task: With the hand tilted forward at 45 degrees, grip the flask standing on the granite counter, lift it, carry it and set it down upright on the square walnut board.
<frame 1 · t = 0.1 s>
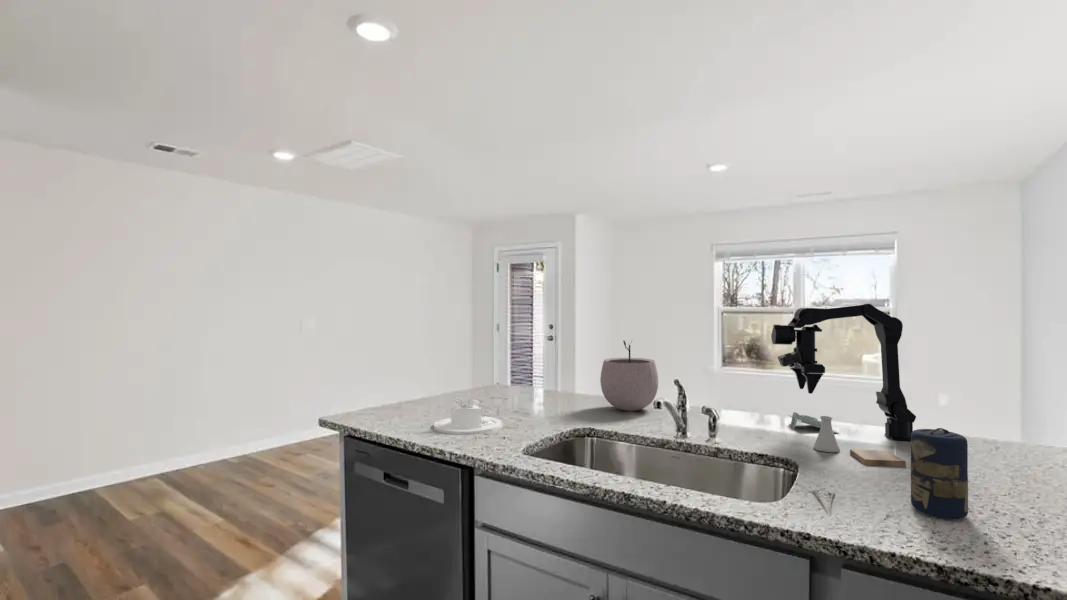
hand: (805, 391, 175), 15 cm above the worktop, tool pointing down, fingers open, 9 cm apart
dish: (468, 427, 190), on the worktop
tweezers: (827, 509, 113), on the worktop
walnut board: (876, 460, 146), on the worktop
canister: (938, 514, 109), on the worktop
plant pot: (629, 410, 217), on the worktop
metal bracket: (810, 430, 183), on the worktop
flask: (826, 450, 156), on the worktop
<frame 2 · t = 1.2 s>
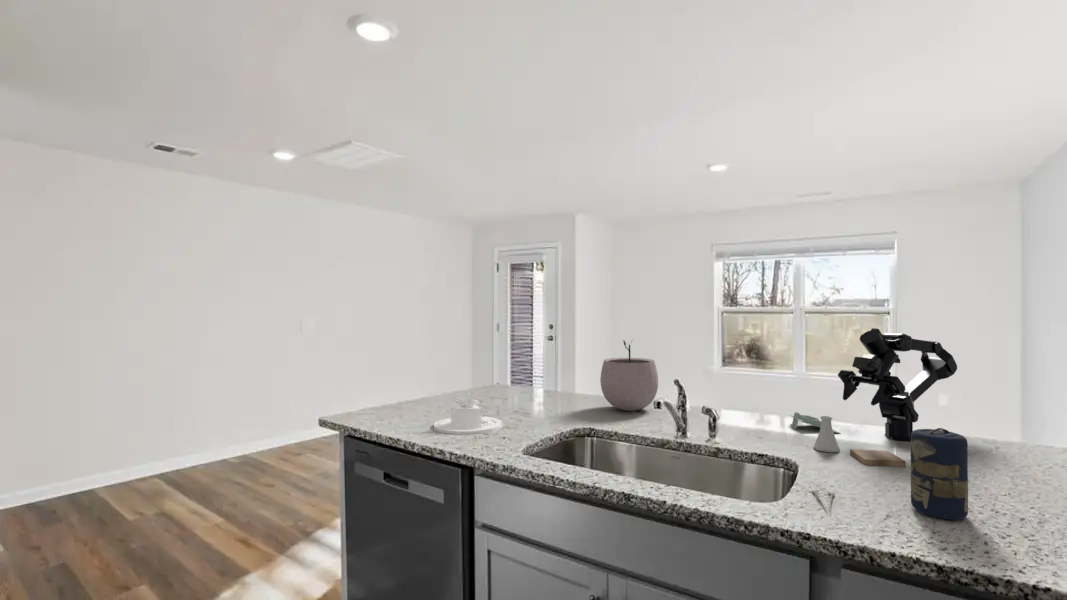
hand: (857, 402, 162), 13 cm above the worktop, tool tilted 45°, fingers open, 9 cm apart
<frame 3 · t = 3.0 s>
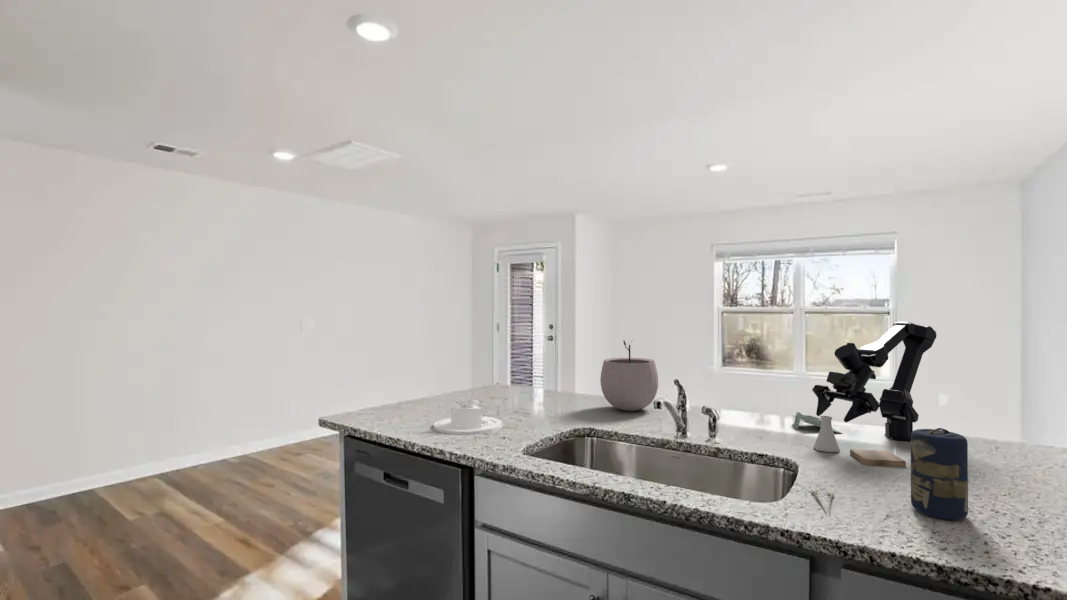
hand: (830, 418, 157), 9 cm above the worktop, tool tilted 45°, fingers open, 9 cm apart
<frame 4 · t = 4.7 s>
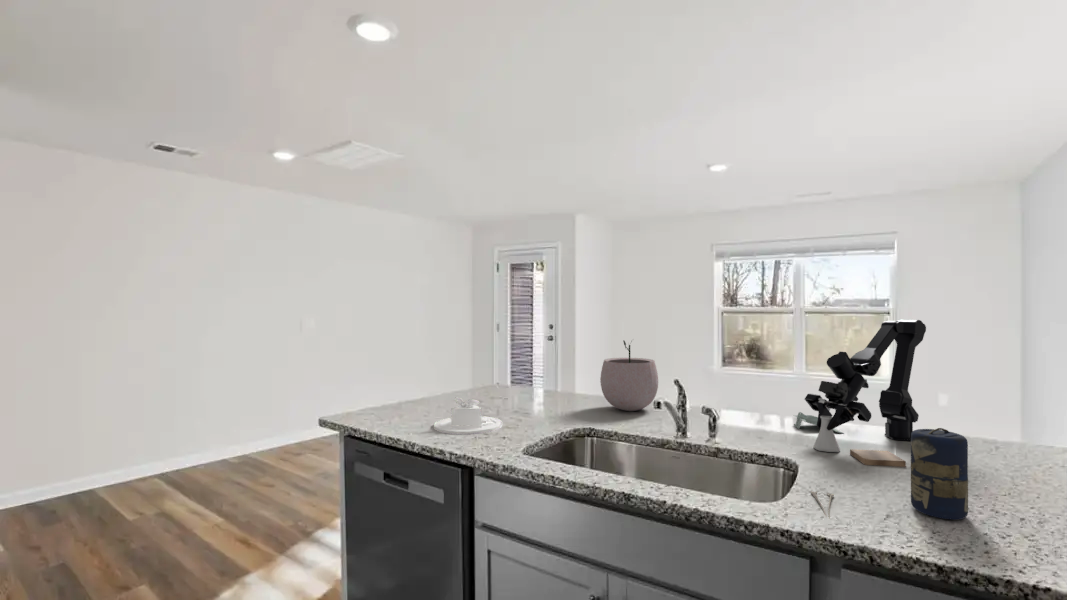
hand: (822, 428, 156), 7 cm above the worktop, tool tilted 45°, fingers closed on flask, 3 cm apart
flask: (826, 450, 156), on the worktop, touching gripper
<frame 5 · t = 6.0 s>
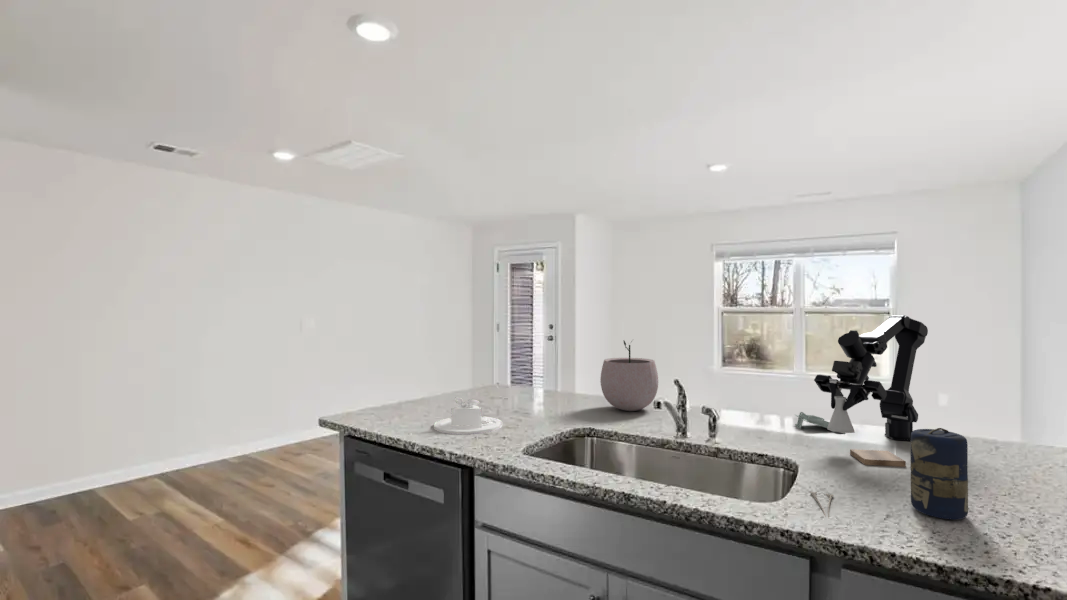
hand: (837, 408, 152), 13 cm above the worktop, tool tilted 45°, fingers closed on flask, 3 cm apart
flask: (840, 431, 153), point 6 cm above the worktop, touching gripper
when the fingers open (9 cm above the worktop, at t = 7.5 s): flask drops 1 cm, resting on walnut board.
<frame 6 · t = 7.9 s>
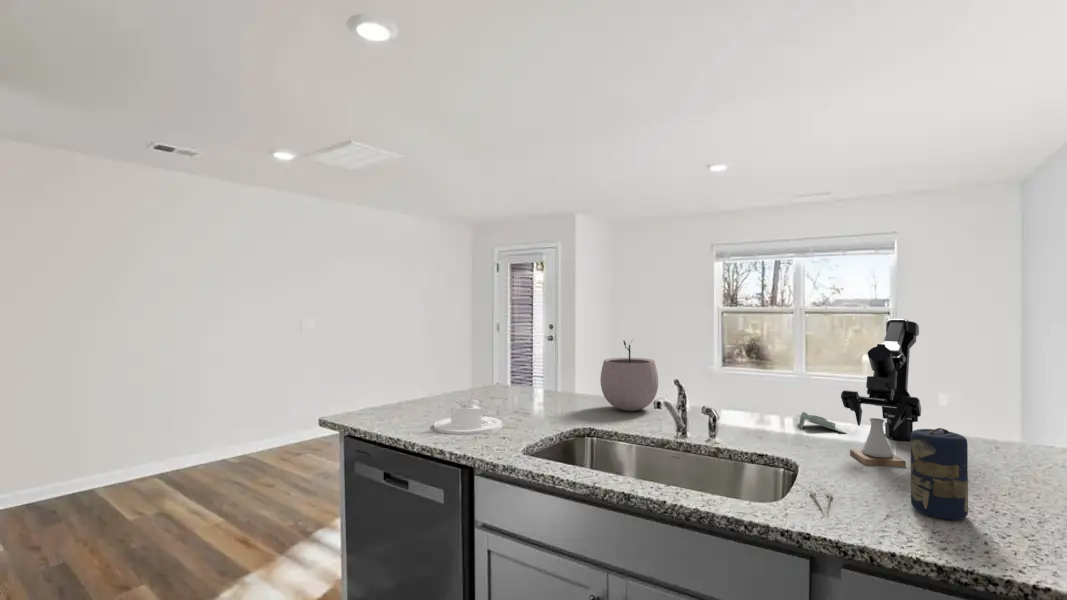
hand: (875, 427, 145), 10 cm above the worktop, tool tilted 45°, fingers open, 8 cm apart
flask: (877, 455, 146), point 1 cm above the worktop, touching walnut board
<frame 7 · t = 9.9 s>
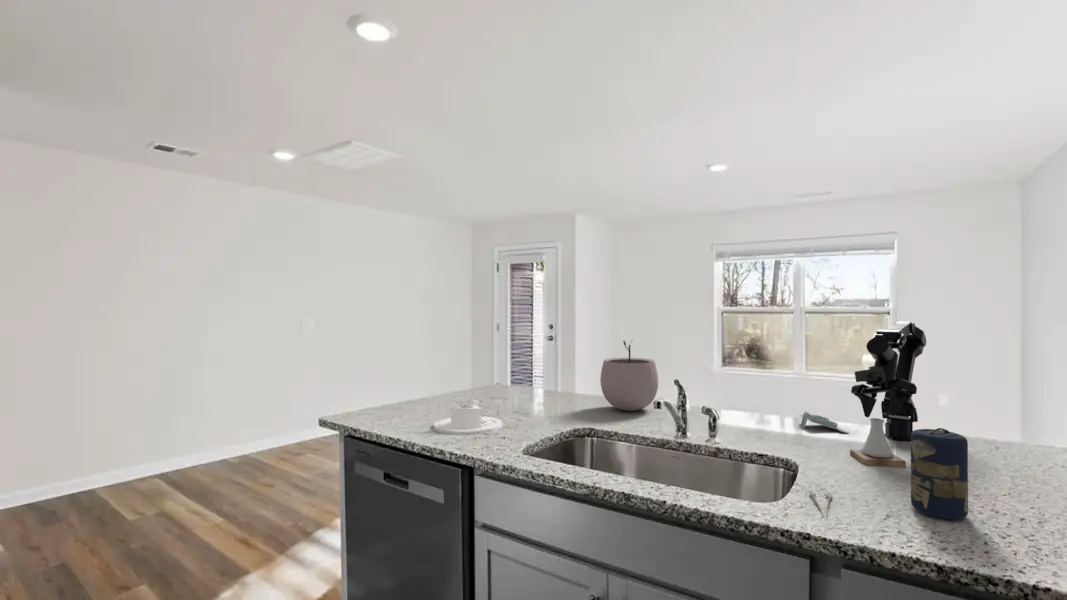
hand: (878, 416, 154), 11 cm above the worktop, tool tilted 25°, fingers open, 9 cm apart
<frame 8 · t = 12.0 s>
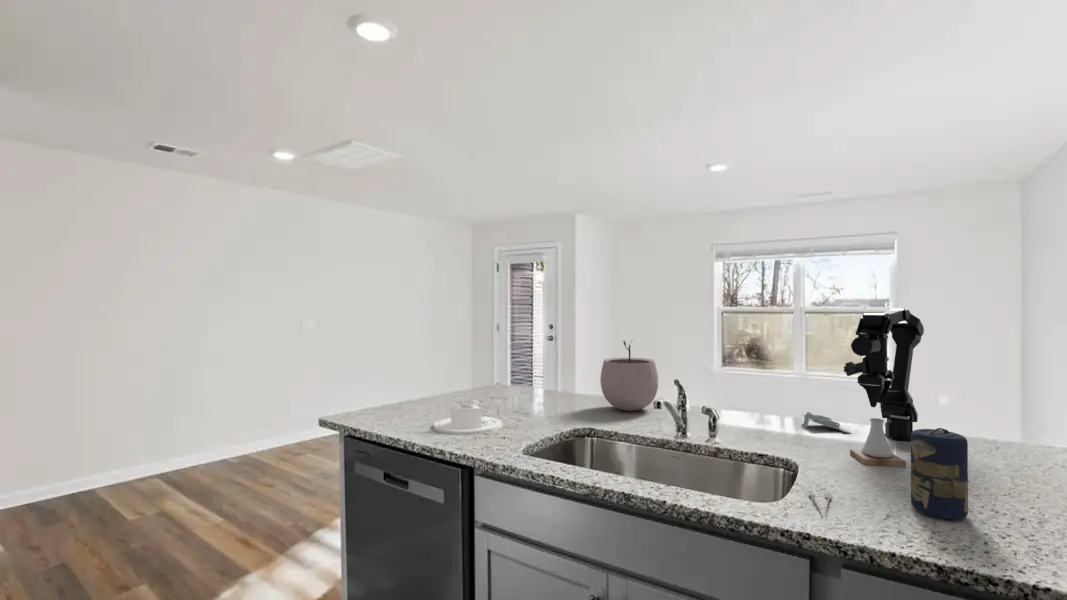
hand: (876, 404, 159), 13 cm above the worktop, tool pointing down, fingers open, 9 cm apart
at the end: flask 0.2 cm from the walnut board (horizontally); flask tilted 0°; the gripper is holding nothing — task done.
